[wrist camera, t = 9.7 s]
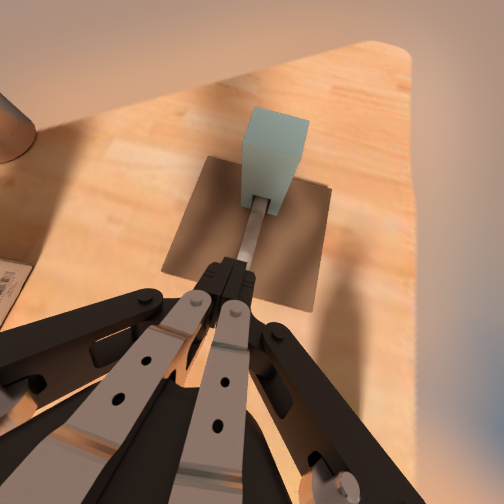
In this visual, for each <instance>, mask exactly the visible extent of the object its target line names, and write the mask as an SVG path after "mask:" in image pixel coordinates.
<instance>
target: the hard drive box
mask: <svg viewBox="0 0 504 504" xmlns="http://www.w3.org/2000/svg"><path fill="white" fill-rule="evenodd" d="M31 269H32V266H30V264H28V263H24V262H19V261H14V260H9V259H4V258H0V326H1V324H2V322H3V320H4V318H5V317H6V315H7V313H8V311H9V309H10V308H11V306H12V305H13V304H14V302H15V299H16V298H17V296H18V294H19V293H20V290H21V288H22V285H23V284H24V282H25V280H26V278H27V276H28V274H29V273H30V271H31Z"/></svg>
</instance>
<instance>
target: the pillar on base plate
mask: <svg viewBox="0 0 504 504" xmlns="http://www.w3.org/2000/svg"><path fill="white" fill-rule="evenodd" d="M241 182H242V165H240V164H236V163H232V162H229V161H225V160H221V159H217V158H214V157H210V156H208V157H207V159H206V162H205V164H204V167H203V169H202V172H201V174H200V176H199V179H198V181H197V184H196V186H195V189H194V191H193V194H192V196H191V198H190V201H189V203H188V206H187V208H186V211H185V213H184V216H183V218H182V220H181V223H180V225H179V228H178V230H177V233H176V235H175V237H174V240H173V242H172V245H171V247H170V250H169V252H168V255H167V257H166V259H165V262H164V264H163V267H162V269H161V272H164V273H166V274H169V275H173V276H177V277H180V278H184V279H188V280H191V281H195V282H198V281H199V279H200V278H201V276H202V275H203V273H204V271H205V270H206V268H207V267H208V265H209V264H211V263H213V262H218V263H221V262H222V260H223V258H224V257H225V256H226V257H230V258H233V259H236V260H241V261H245V262H248V263H247V267H246V270H248V271H252V272H254V274H255V276H256V280H255V286H254V291H253V296H252V297H254V298H257V299H261V300H265V301H268V302H272V303H276V304H279V305H283V306H287V307H290V308H294V309H298V310H301V311H305V312H312V311H313V305H314V299H315V292H316V286H317V280H318V273H319V267H320V261H321V255H322V248H323V242H324V236H325V230H326V223H327V217H328V211H329V204H330V198H331V192H332V189H330V188H326V187H322V186H318V185H315V184H311V183H307V182H303V181H300V180H296V179H292V181H291V183H290V186H289V188H288V190H287V193H286V195H285V198H284V200H283V202H282V205H281V207H280V210H279V212H278V214H277V216H275V215H271V214H268V213H267V212H268V208H269V204H270V200H271V199H268V198H264V197H260V196H257V195H255V196H254V199H253V203H252V206H251V209H249V208H245V207H242V206H241Z"/></svg>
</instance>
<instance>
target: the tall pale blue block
mask: <svg viewBox="0 0 504 504" xmlns="http://www.w3.org/2000/svg"><path fill="white" fill-rule="evenodd" d="M308 126H309V120H305V119H301V118H297V117H293V116H290V115H286V114H282V113H278V112H275V111H271V110H267V109H263V108H259V107H256V106H255V108H254V111H253V114H252V116H251V119H250V122H249V125H248V128H247V131H246V133H245V136H244V139H243V143H242V182H241V206H242V207H245V208H249V209H251V206H252V203H253V199H254V196H255V195H257V196H260V197H264V198H268V199H271V200H270V204H269V208H268V212H267V213H268V214H271V215H275V216H277V214H278V212H279V210H280V207H281V205H282V202H283V200H284V198H285V195H286V193H287V190H288V188H289V186H290V183H291V181H292V178H293V176H294V174H295V171H296V169H297V166H298V164H299V162H300V159H301V156H302V152H303V148H304V143H305V139H306V134H307V130H308Z"/></svg>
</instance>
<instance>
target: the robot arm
mask: <svg viewBox="0 0 504 504" xmlns="http://www.w3.org/2000/svg"><path fill="white" fill-rule="evenodd" d="M35 135H36V129H35V126H34V124H33V123H32V122H31V120H30V119H29V118H28V117H26V116H25V115H24V114H23V113H22V112H21V111H20V110H19V109H18V108H16V107H15V106H14V105H13V104H12V103H11V102H10V101H9V100H7V99H6V98H5V97H4V96H3V95H2V94H1V93H0V163H4V162H7V161H10V160H13V159H14V158H16V157H18V156H20V155H21V154H23V153H24V152H25V151H26V150H27V149H28V148H29V147H30V146H31V144H32V143H33V141H34V139H35ZM247 263H248V262H245V261H241V260H236V259H233V258H230V257H226V256H225V257H224V258H223V260H222V262H221V263H218V262H213V263H211V264H209V265H208V267H207V268H206V270H205V271H204V273H203V275H202V276H201V278H200V279H199V281H198V283H197V284H196V286H195V287H194V289H193V290H191V291H188V292H186V293H185V294H184V295H183V296H182V297H181V298H163V295H162V293H161V292H160V291H158V290H156V289H152V288H145V289H140V290H137V291H134V292H131V293H127V294H124V295H121V296H117V297H114V298H111V299H108V300H104V301H101V302H98V303H95V304H91V305H88V306H85V307H81V308H78V309H75V310H72V311H68V312H65V313H62V314H59V315H55V316H52V317H49V318H46V319H42V320H39V321H36V322H32V323H29V324H26V325H23V326H19V327H16V328H13V329H10V330H6V331H3V332H0V504H292V501H291V499H290V497H289V494H288V492H287V490H286V487H285V485H284V483H283V480H282V478H281V475H280V473H279V471H278V468H277V466H276V464H275V461H274V459H273V456H272V454H271V452H270V449H269V447H268V444H267V442H266V440H265V437H264V435H263V433H262V431H261V429H260V427H259V425H258V423H257V422H256V420H255V419H254V418H253V416H252V415H251V414H250V413H249V412H248V411H247V410H246V401H247V387H248V372H249V373H250V375H251V378H252V379H253V381H254V383H255V385H256V387H257V389H258V391H259V393H260V395H261V397H262V399H263V401H264V403H265V405H266V407H267V409H268V411H269V413H270V415H271V417H272V419H273V421H274V423H275V425H276V427H277V429H278V431H279V433H280V435H281V437H282V439H283V441H284V443H285V445H286V447H287V449H288V450H289V452H290V454H291V456H292V458H293V460H294V462H295V464H296V466H297V468H298V470H299V472H300V474H301V476H302V478H301V481H300V486H299V502H300V504H426V503H425V502H424V500H423V499H422V498H421V496H420V495H419V494H418V493H417V491H416V490H415V489H414V488H413V486H412V485H411V484H410V482H409V481H408V480H407V479H406V477H405V476H404V475H403V474H402V472H401V471H400V470H399V468H398V467H397V466H396V465H395V463H394V462H393V461H392V460H391V458H390V457H389V456H388V455H387V453H386V452H385V451H384V449H383V448H382V447H381V446H380V444H379V443H378V442H377V441H376V439H375V438H374V437H373V435H372V434H371V433H370V432H369V430H368V429H367V428H366V427H365V425H364V424H363V423H362V422H361V420H360V419H359V418H358V416H357V415H356V414H355V413H354V411H353V410H352V409H351V408H350V406H349V405H348V404H347V402H346V401H345V400H344V399H343V397H342V396H341V395H340V394H339V392H338V391H337V390H336V389H335V387H334V386H333V385H332V383H331V382H330V381H329V380H328V378H327V377H326V376H325V375H324V373H323V372H322V371H321V369H320V368H319V367H318V366H317V364H316V363H315V362H314V361H313V359H312V358H311V357H310V356H309V354H308V353H307V352H306V350H305V349H304V348H303V347H302V345H301V344H300V343H299V342H298V340H297V339H296V338H295V336H294V335H293V334H292V333H291V331H290V330H289V329H288V328H287V327H286V326H284V325H283V324H280V323H277V322H271V323H268V324H266V325H265V324H264V323H262V322H260V321H259V320H257V319H256V318H255V317H254V316H253V314H252V312H251V302H252V296H253V291H254V286H255V280H256V276H255V274H254V272H252V271H248V270H246V267H247ZM216 322H217V323H216ZM215 325H216V328H215V329H216V331H215V335H214V339H213V342H212V344H211V348H210V351H209V355H208V359H207V363H206V366H205V370H204V374H203V378H202V381H201V385H200V387H197V388H184V387H183V386H184V383H185V380H186V377H187V375H188V373H189V371H190V369H191V367H192V365H193V363H194V361H195V359H196V357H197V354H198V352H199V350H200V348H201V346H202V344H203V342H204V340H205V336H206V335H207V332H208V330H209V327H210V328H214V327H215ZM128 327H130V328H128ZM126 328H128V329H126ZM123 329H126V330H123ZM121 330H123V331H121ZM118 331H121V332H119V333H116V332H118ZM114 333H116V334H114ZM111 334H114V335H111ZM109 335H111V336H109ZM106 336H109V337H107V338H104V337H106ZM101 338H104V339H102V340H99V339H101ZM97 340H99V341H97ZM96 341H97V342H96ZM107 373H108V374H107ZM105 374H107V375H106V377H105V378H104V379H103V380H101V381H99V382H97V383H94V384H92V385H90V386H88V387H87V388H85V389H83V390H81V391H79V392H78V393H76V394H74V395H72V396H71V397H69V398H67V399H65V400H63V401H62V402H60V403H58V404H56V405H55V406H53V407H51V408H49V409H47V410H46V411H44V412H42V413H40V414H39V415H37V416H35V417H33V418H31V417H32V416H33V414H34V413H35V411H36V410H38V409H40V408H42V407H44V406H46V405H47V404H49V403H51V402H53V401H55V400H57V399H59V398H61V397H63V396H65V395H67V394H68V393H70V392H72V391H74V390H76V389H78V388H80V387H82V386H84V385H86V384H88V383H89V382H91V381H93V380H95V379H97V378H99V377H101V376H103V375H105ZM30 418H31V419H30Z"/></svg>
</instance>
